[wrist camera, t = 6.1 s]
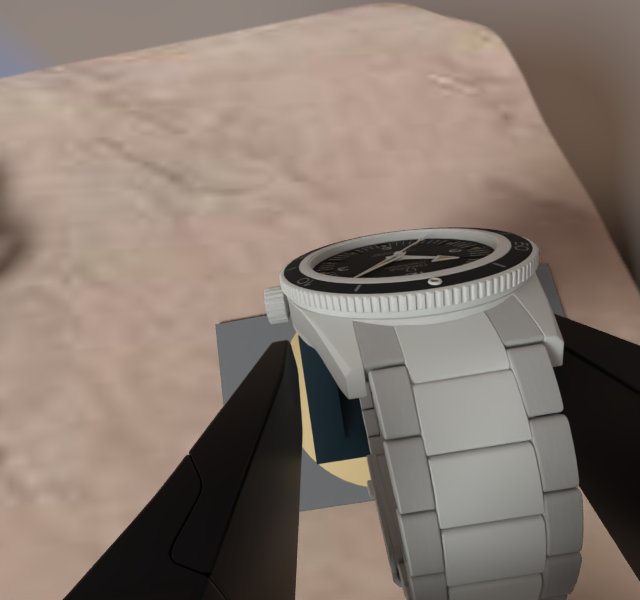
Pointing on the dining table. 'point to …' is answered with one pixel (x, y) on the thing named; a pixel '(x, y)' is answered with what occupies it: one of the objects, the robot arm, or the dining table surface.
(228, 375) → the mat
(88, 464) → the dining table surface
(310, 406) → the watch
